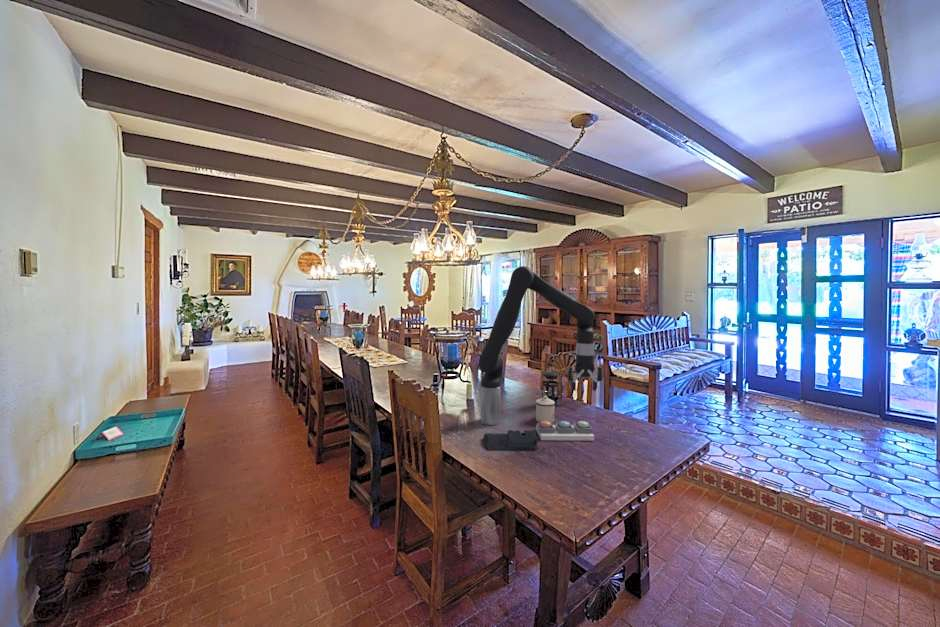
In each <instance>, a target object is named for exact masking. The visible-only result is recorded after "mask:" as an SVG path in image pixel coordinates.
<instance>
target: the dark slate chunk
mask: <svg viewBox="0 0 940 627" xmlns="http://www.w3.org/2000/svg"><path fill="white" fill-rule="evenodd" d="M535 431H536V430H534V429H531V430H523V432H522V431H520V430H513V429H511V430H510V429H508V431H507V432H506V433H504V432H503V433H501V432H499V433H492V432H486V433H484V435H483V437H482V438H483V440H482V441H483V445H484V449H485V450H487V451H490V452H496V451H498V452H533V451H534V452H535V451H537V450H539V447H538V446H537V445H538V442H539V438H538V436H537V435H536V432H535Z"/></svg>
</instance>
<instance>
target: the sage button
mask: <svg viewBox="0 0 940 627" xmlns="http://www.w3.org/2000/svg"><path fill="white" fill-rule="evenodd" d="M577 423H578V428H588V424H589V422H588V421H584V420H579V421H577Z"/></svg>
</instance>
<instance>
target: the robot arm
mask: <svg viewBox="0 0 940 627" xmlns="http://www.w3.org/2000/svg"><path fill="white" fill-rule="evenodd" d="M528 289H529V290H531V291H533V292H535V293H536V294H538V295H540V296H541V297H542V298H543V299H544V300H546V301H548V303H550V304H551V305H553V306H554V307H556V308H558V309H559V310H561V311H562V312H564V313H566V314H569V315H570V316H571V317H572V318H574V319H575V320H576V326H577V327H576V328H577V332H576V346H575V365H574V366H570V365H568V366H567V377H566V378H567V380H568V381H569V382H571V386H570V388H571V389H572V390H573V391H576V390H577V389H576V387H577V384H576V381H578V379H579V378H580V377H581V378H585V377H586V378H589V377H590V378H591V380H593V381H592V388H591V389H592V391H593V392H596V390H597V389H598V382H602V381H603V373H602V370H603V369H602V367H601V366H599V365H598V366H595V343H594V342H595V334H594V333H595V332H594V320H595V317H596V313H595V311H594V310H593V308H591V307H589V306H587V305H586V304H583V303H581V302H580V301H578V300H576V299H575V298H574V297H573V296H571V295H569V294H567V293H566V292H564V291H562V290H561V289H559V288H557V287H555V286H553V285H552V284H551V283H548V282H547V281H545V280H544V279H543V278H541V277H540V276H539V275H538V274H537V273H535V272H534V271H533V270H532V269H531V268H530V267H529V266H526V265H525V266H524V265H523V266H519V267H517V268H515V269H514V270H513V271H512V273H511V276H510V281H509V285H508V289H507V292H506V295H505V297H504V298H503V300H502V303H501V305H500V307H499V309H498V312H497V314H496V317H495V319H494V322H493V326H492V328H491V331H490V334H489V336H488V340H487V342H486V344H485V346H484V348H483V350H482V353H481V354H480V356H479V359H478V367H479V370H480V371H481V372H482V373H484V374H483V376H482V378H481V380H480V424H481V425H482V424H483V425H488V426H496V425H499V424H500V423H501V404H502V402H501V396H502V395H501V392H502V388H501V386H502V380H503V373H504V371H503V368H504V360H503V357H502V355H501V350H502V348H503V346H504V345H505V344H506V343H507V341H508V340H509V338H510V336H511V335H512V333H513V332H514V329H515V327H516V324H517V321H518V318H519V315H520V310H521V306H522V305H521V304H522V302H523V299H524V297H525V295H526V292H527V290H528ZM574 371H575V373H574V374H572V373H573V372H574ZM595 371H596V376H597V377H596V376H595V375H594V372H595ZM572 376H573V377H572Z"/></svg>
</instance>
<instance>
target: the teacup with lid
mask: <svg viewBox="0 0 940 627" xmlns="http://www.w3.org/2000/svg"><path fill="white" fill-rule="evenodd" d="M554 405H555V402H554V401H553V400H550V399H549V398H548V397H547V396H546V395H543V398H542V397H541V398H538V399H536V400H535V420H536V422H537V423H541V421H549V422H551V423H552V424H553V422H555V407H554Z"/></svg>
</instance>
